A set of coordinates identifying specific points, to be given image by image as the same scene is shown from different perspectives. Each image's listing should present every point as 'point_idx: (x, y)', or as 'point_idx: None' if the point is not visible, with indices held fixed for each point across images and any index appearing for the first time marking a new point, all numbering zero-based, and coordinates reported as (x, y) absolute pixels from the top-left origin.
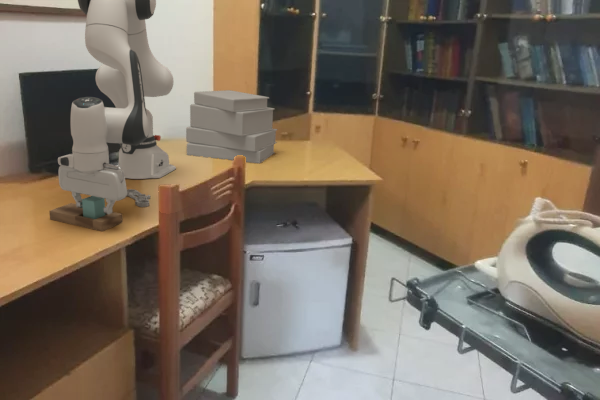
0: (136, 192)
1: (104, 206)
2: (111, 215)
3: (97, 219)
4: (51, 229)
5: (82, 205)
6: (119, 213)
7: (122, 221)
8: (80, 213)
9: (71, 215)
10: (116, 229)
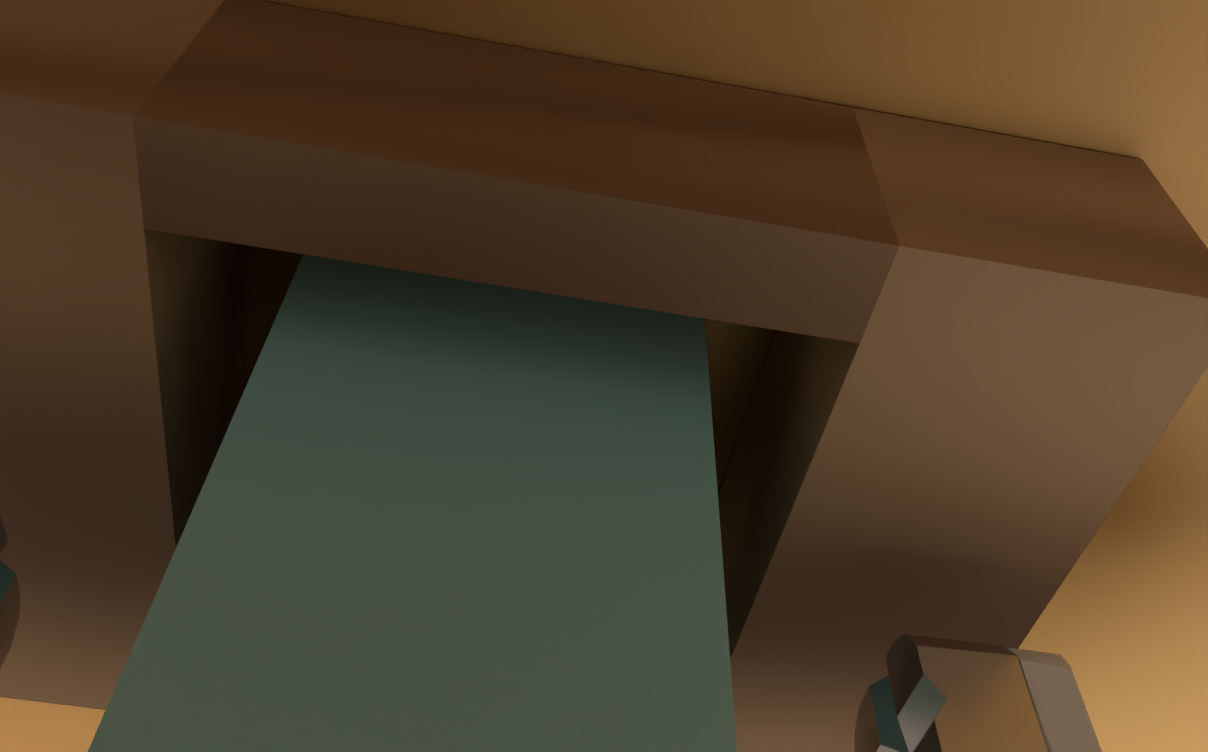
0: None
1: (716, 599)
2: (957, 491)
3: (749, 733)
4: (78, 747)
5: None
6: (1147, 310)
7: (1149, 181)
8: (131, 577)
9: (83, 703)
10: (1109, 522)
